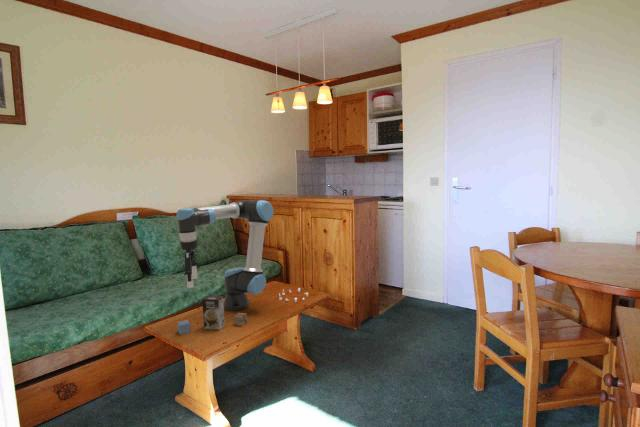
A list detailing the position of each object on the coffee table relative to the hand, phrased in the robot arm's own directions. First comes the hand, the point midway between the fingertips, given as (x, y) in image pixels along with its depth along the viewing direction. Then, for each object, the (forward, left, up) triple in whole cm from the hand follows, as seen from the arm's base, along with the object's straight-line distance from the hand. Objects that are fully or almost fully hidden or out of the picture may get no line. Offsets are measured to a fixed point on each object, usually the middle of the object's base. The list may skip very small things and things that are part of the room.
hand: (192, 282), depth 181 cm
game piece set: (-69, +7, -28) cm, 75 cm away
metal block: (-22, +8, -27) cm, 36 cm away
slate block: (0, -10, -28) cm, 29 cm away
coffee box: (-12, -1, -28) cm, 30 cm away
